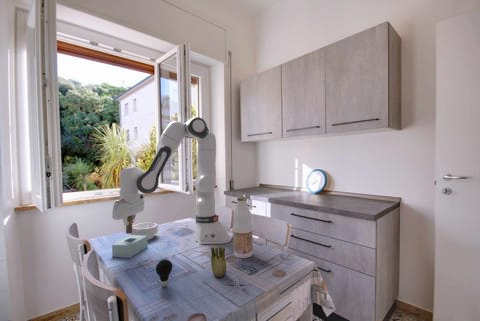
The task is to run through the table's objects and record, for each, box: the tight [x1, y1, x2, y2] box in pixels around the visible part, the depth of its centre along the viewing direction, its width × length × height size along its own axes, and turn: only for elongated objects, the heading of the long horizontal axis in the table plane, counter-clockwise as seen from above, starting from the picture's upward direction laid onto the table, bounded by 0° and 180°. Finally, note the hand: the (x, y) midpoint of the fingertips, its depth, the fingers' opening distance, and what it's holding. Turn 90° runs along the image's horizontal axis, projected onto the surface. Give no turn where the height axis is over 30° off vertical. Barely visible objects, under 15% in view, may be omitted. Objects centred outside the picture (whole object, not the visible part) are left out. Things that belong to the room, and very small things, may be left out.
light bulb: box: [155, 258, 173, 288], centre depth 84 cm, size 6×6×10 cm
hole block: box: [111, 234, 148, 259], centre depth 117 cm, size 10×14×6 cm
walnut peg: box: [125, 215, 133, 235], centre depth 117 cm, size 3×3×10 cm
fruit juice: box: [232, 196, 254, 259], centre depth 110 cm, size 9×9×28 cm
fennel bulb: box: [210, 245, 227, 278], centre depth 91 cm, size 6×5×12 cm
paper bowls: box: [130, 222, 159, 241], centre depth 137 cm, size 15×15×8 cm
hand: (129, 224), depth 117 cm, fingers closed on walnut peg, 3 cm apart
